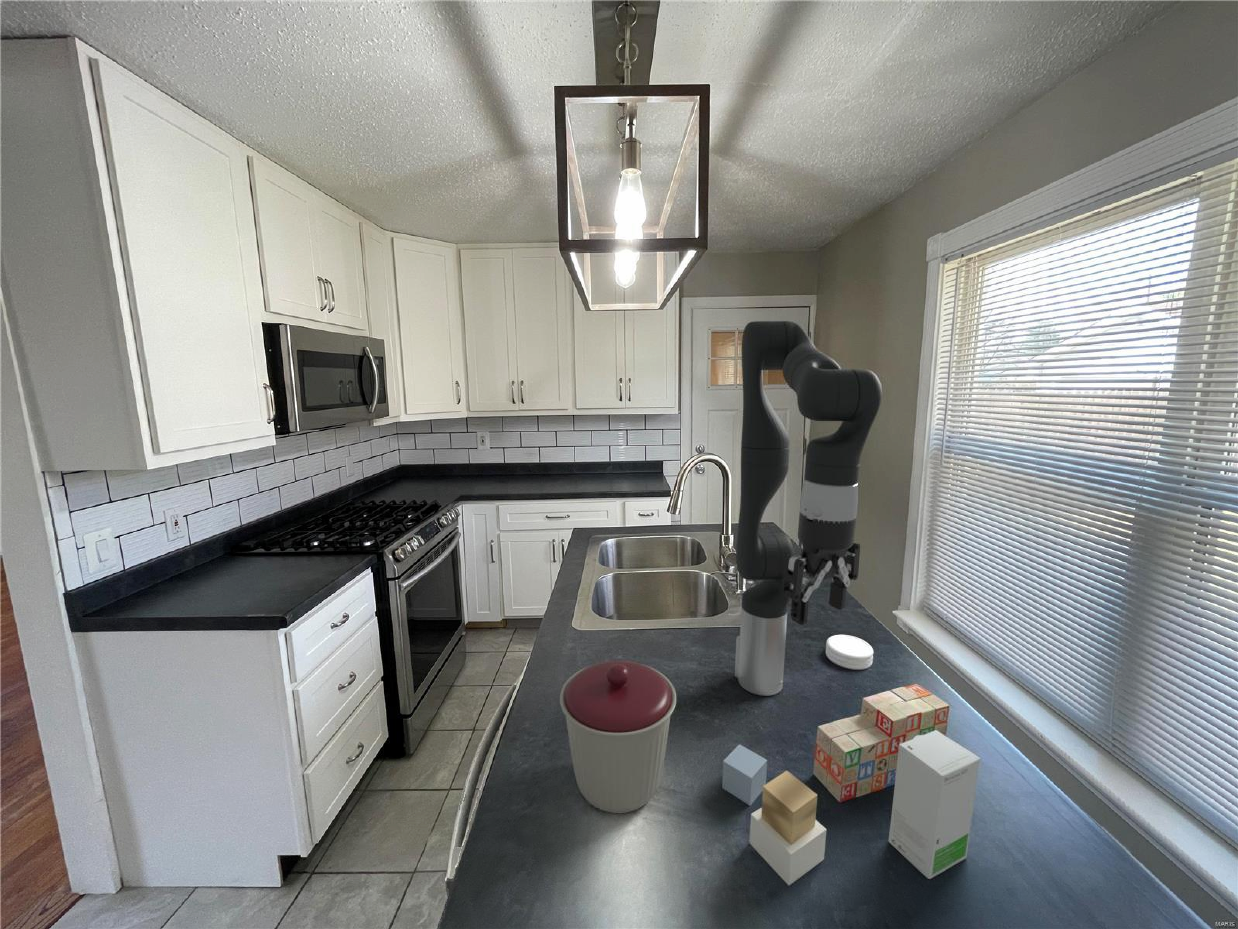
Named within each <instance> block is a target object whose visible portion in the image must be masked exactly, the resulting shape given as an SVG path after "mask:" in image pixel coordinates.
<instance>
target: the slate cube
mask: <svg viewBox="0 0 1238 929" xmlns="http://www.w3.org/2000/svg"><path fill="white" fill-rule="evenodd" d="M722 762H723V763H722V781H721V783H722V784H721V785H722V787H721V788H722V789H723V790H724V791H727V792H728V793H730V794H731V795H733V796H734V797H735V798H737V799H739V801H740V800H741V801H742V802H743V803H745V804H747V805H748V806H750V807H751V805H752V804H753V803H754V802H755V801H756V800H757V798H758V797H759V796H760V795H761V794H762V793H763V786H764V785H766V784H767V772H768V770H767V769H768V759H766V758H764V757H763V756H761V755H759V753H755V752H754V751H752V750H751V749H748V748H747V747H745V746H743V745H742V744H738V745H737V746H736V747H735V748H734V749H733V750H732V752H730V753H729V754H728V756H726V757H725V758H724V760H723V761H722Z"/></svg>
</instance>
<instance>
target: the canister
mask: <svg viewBox="0 0 1238 929" xmlns="http://www.w3.org/2000/svg"><path fill="white" fill-rule="evenodd" d="M559 705H560V708H561V710H562V713H563V714H564V716H565V720H566V728H567V732H568V733H567V735H568V742H569V747H570V754H571V761H572V766H573V772H574V775H575V781H576V784H577V787H578V789H579V791H580V792H581V794H582V796H583V797H584V799H585V800H586V801H588V803H589V804H590V805H592V806H593V807H594V808H597V809H599V810H600V811H605V812H606V813H612V814H616V813H617V814H622V813H626V814H627V813H629V812H634V811H635V810H638V809H640V808H641V807H644V806H645V805H646V804H647V803H649V801H651V799H652V798H653V797H654V796H655V794H656V792H657V791H658V788H659V785H660V783H661V781H662V775H663V769H664V763H665V757H666V752H667V744H668V735H669V730H670V724H671V723H670V721H671V716H672V714H673V713H674V711H675V709H676V708H675V707H676V705H677V693H676V689H675V687H674V685H673V684H672V682H671V681H670V680H669V679H668V677H667V676H665V675H664V674H663V673H661V672H660V671H658V669H656V668H653V667H652V666H649V665H646V664H642V663H639V662H636V661H630V660H622V659H621V660H607V661H601V662H597V663H593V664H591V665H589V666H586V667H584V668H582V669H580V670H578V671H577V672H575V673H574V674H572V675H571V676H570V677H569V678H568V679H567V680H566V681H565V683H564V684H563V686H562V688H561V690H560V695H559Z"/></svg>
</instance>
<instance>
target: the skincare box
mask: <svg viewBox="0 0 1238 929" xmlns="http://www.w3.org/2000/svg"><path fill="white" fill-rule="evenodd" d="M980 761H981V757H979V756H977V755H976V754H975V753H973V752H972V751H970V750H968V749H966V748H965V747H963V746H961V744H959V743H957V742H955V741H954V740H952V739H951V738H950V737H947V735H946V736H944V735H943V734H941V733H940V732H938V731H937V730H935V731H933V732H930V733H927V734H925V735H917V736H915V737H914V739H912V740H910V741H907V742H904V743H902V744H899V746H898V760H897V769H896V778H895V784H894V788H893V800H892V808H891V817H890V825H889V834H888V840H887V841H888V843H889V844H890V845H891V846H892V847H894V848H895V849H896V851H897V852H899V853H900V854H901V855H902V856H903V857H904V858H905V859H906V860H907V861H908V862H909V863H910V864H911V865H912V866H913V867H914V868H916V870H918V871H919V872H920V873H921V874H922V875H923V876H924V877H925V878H927V879H929V880H931V879H933V878H935V877H937V876H938V875H940V874H941V873H943V872H945V871H948V870H949V869H950V868H951V867H953V866H954V865H956V864H958V863H960V862H962V861H964V860H965V859H967V857H968V851H969V850H968V849H969V844H970V843H969V842H970V835H971V829H972V828H971V827H972V820H973V813H974V804H975V796H976V790H977V789H976V788H977V783H978V782H977V781H978V776H979V775H978V774H979V767H980Z"/></svg>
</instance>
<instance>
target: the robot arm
mask: <svg viewBox="0 0 1238 929" xmlns="http://www.w3.org/2000/svg"><path fill="white" fill-rule="evenodd" d="M762 371H782V376H783V378H784V381H785V382H786V384H787V386H789V388H791V390H793V391H794V392H795V394H796V397H797V399H796V400H797V406H798V411H799V413H800V414H801V415H802V416H803V417H804V418H807V419H808V420H811V421H814V422H841V424H840V425H839V427H838V429H837V430H836V431H835V432H834V433H832V434H829V435H825V436H821V437H817V438H814V439H812V440H810V441H809V442H808V444H807V447H806V452H805V464H804V465H805V466H804V475H803V476H804V477H803V482H802V487H801V492H800V503H799V511H798V512H799V516H798V525H797V526H798V527H797V539H798V540H799V541H800V543H801V545H802V549H801V553H800V554H799V556H795V551H794V544H793V542H792V540H791V538H790V536H788V535H787V534H785V533H782V532H781V533H780V532H773V533H772V532H771V533H760V527H761V523H762V518H763V515H764V513H765V511H766V509H767V506H768V505H769V504H770V502H771V500H772V499H773V498H774V496H775V495H776V493H777V492H778V491H779V489H780V487H781V486H782V484H783V483H784V482H785V479H786V477H787V476H788V472H789V467H790V465H789V464H790V447H791V445H790V436H789V434H788V431H787V429H786V427H785V425H784V423H783V422H782V420H781V419H780V417H779V416H778V414H777V412H776V411H775V409H774V407H773V406H772V404H771V402H770V401H769V398H768V396H767V393H766V391H765V387H764V382H763V376H762V374H763V373H762ZM741 372H742V376H741V378H742V398H743V400H742V425H741V426H742V428H741V439H740V440H741V444H740V445H741V446H740V503H739V515H738V516H739V517H738V526H737V535H736V543H735V544H736V545H735V563H736V569H737V571H738V574H739V575H740V577H741V578H742V579H743V580H749V581H753V580H754V581H755V580H756V581H759V580H761V582H759V583H757V584H755V585H753V586H751V587H749V588H747V589H746V590H744V591H743V593H742V595H741V608H740V609H741V610H740V631H739V635H737V636H736V640H735V641H736V642H735V644H736V645H735V663H734V666H735V667H734V677H735V678H737V681H738V684H739V685H740V686H741V687H742V688H743V689H744V690H746V692H749V693H751V694H755V695H756V696H757V695H758V696H762V697H763V696H767V697H768V696H774V695H777V694H779V693H780V692H781V691H782V689H783V686H784V670H785V669H784V668H785V655H786V654H785V652H786V639H787V625H788V624H787V622H788V607H789V604H790V601H791V605H790V606H791V609H790V618H791V619H792V621H793V622H795V623H797V624H799V625H801V626H803V625H806V624H807V623H808V615H809V614H808V613H809V604H810V603H809V602H810V601H809V598H810V596H811V595H812V593H813V592H814V590H817V589H818V588H819V587H820V585H821V583H822V582H823V581H825V580H827V579H830V580H831V581H832V582H830V590H829V600H828V603H829V604H828V605H830V607H832V608H834V609H837V610H838V611H840V610H844V609H845V605H846V604H845V603H846V600H847V598H846V597H847V588H848V587H849V586H850V585H851V581H852V580H854V581H856V580H857V579H858V577H859V569H860V568H859V567H860V554H861V544H860V543H857V542H855V533H856V522H857V513H858V505H859V504H858V502H859V493H858V492H859V491H858V488H859V487H858V486H859V476H860V466H861V465H860V464H861V456H862V452H863V449H864V447H865V445H866V442H867V439H868V436H869V433H870V431H871V429H872V426H873V423H874V421H875V419H876V417H877V415H878V412H879V410H880V407H881V404H882V400H883V398H882V397H883V388H882V383H881V382H880V379H879V377H878V375H876V374H875V373H874V372H873V371H872V370H869V369H859V368H857V369H856V368H855V369H854V368H847V369H846V368H845V369H843V368H841V366H840V365H839V364H838V362H836V361H835V359H833V358H831V357H830V356H828V355H827V354H825V353H823V352H821V351H820V350H819V349H818V348H817V347H816V346H815V344H814V343H813V341H812V340H811V338H810V337H809V335H808V334H807V332H806V331H805V329H804V328H802V326H801V325H800V324H798V323H796V322H794V321H788V320H771V321H770V320H769V321H768V320H767V321H765V320H762V321H761V320H759V321H758V320H756V321H755V320H754V321H750V322H748V323H747V324H746V325H745V327H744V329H743V333H742V339H741ZM848 565H850V569H849V568H848ZM805 574H806V576H808V577H809V578H810V579H808V578H806V577H804V576H805ZM811 578H812V579H811ZM803 585H805V587H804V590H803V591H802V586H803Z"/></svg>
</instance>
